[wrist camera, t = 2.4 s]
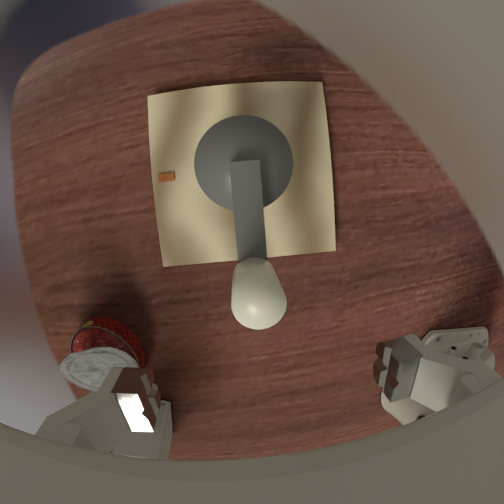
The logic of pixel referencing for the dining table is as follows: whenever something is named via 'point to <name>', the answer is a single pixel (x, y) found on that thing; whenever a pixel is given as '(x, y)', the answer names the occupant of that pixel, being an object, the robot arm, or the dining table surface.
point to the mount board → (222, 220)
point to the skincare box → (150, 438)
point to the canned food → (101, 352)
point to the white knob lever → (248, 205)
